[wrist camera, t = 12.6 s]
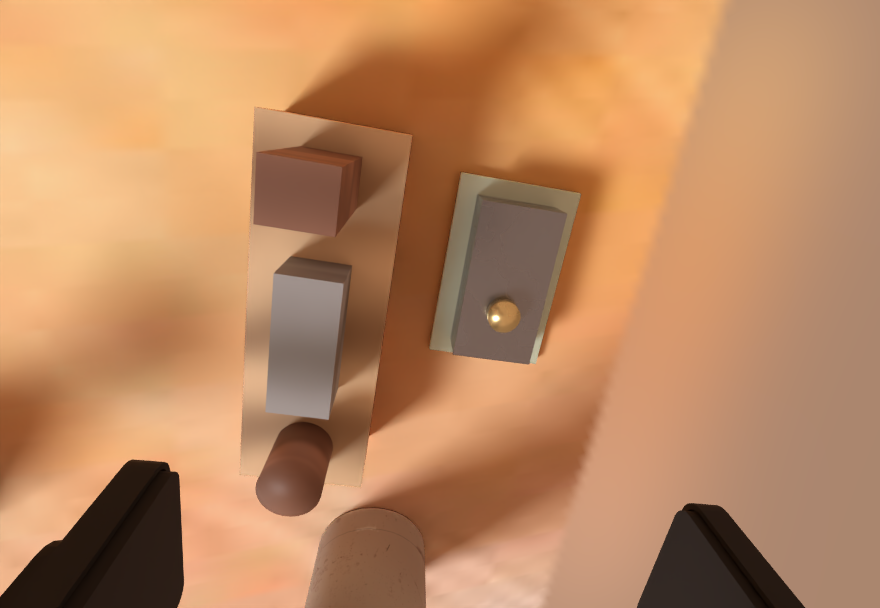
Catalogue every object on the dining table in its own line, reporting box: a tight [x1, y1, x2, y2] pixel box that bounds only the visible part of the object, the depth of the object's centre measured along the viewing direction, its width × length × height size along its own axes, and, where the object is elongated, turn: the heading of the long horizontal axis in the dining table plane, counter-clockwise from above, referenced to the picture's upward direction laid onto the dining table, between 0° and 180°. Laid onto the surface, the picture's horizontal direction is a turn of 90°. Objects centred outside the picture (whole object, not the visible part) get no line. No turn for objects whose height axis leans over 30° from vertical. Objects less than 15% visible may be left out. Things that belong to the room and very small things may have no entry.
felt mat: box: [429, 172, 581, 364], centre depth 29 cm, size 11×7×1 cm, turn 170°
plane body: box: [240, 107, 413, 516], centre depth 24 cm, size 20×7×11 cm, turn 170°
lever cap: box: [450, 194, 567, 364], centre depth 27 cm, size 9×5×3 cm, turn 171°
